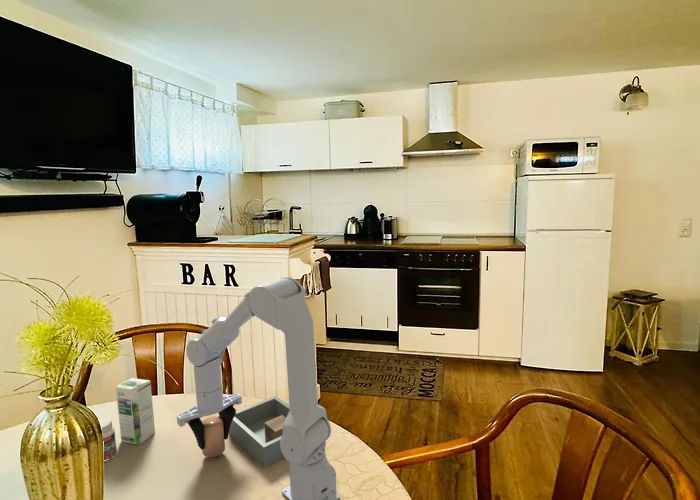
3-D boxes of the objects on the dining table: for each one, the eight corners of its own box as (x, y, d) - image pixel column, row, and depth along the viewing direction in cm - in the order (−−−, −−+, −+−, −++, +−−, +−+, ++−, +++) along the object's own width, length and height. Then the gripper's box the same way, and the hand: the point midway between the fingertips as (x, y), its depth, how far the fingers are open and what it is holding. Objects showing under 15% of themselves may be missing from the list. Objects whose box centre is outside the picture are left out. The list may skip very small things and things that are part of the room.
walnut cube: (294, 442, 103) (293, 423, 102) (276, 451, 99) (275, 431, 99) (283, 433, 106) (282, 415, 106) (265, 441, 103) (264, 422, 102)
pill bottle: (106, 464, 97) (102, 430, 96) (88, 461, 98) (84, 428, 97) (121, 451, 102) (118, 418, 100) (104, 449, 102) (100, 417, 101)
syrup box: (120, 442, 105) (113, 387, 103) (138, 429, 111) (132, 376, 108) (139, 445, 103) (133, 390, 101) (156, 432, 109) (151, 379, 107)
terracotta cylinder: (228, 450, 99) (226, 422, 98) (207, 459, 96) (205, 431, 94) (219, 440, 103) (217, 413, 101) (199, 449, 99) (196, 421, 98)
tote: (315, 442, 104) (315, 423, 103) (264, 467, 95) (263, 447, 94) (276, 413, 117) (275, 396, 116) (228, 433, 108) (227, 414, 107)
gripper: (230, 371, 104) (234, 423, 106) (170, 391, 95) (175, 447, 97) (244, 381, 99) (248, 435, 101) (181, 403, 90) (186, 462, 92)
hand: (213, 442), depth 99 cm, fingers closed on terracotta cylinder, 5 cm apart
